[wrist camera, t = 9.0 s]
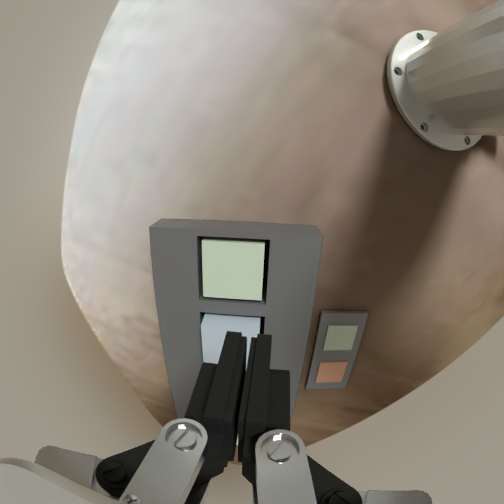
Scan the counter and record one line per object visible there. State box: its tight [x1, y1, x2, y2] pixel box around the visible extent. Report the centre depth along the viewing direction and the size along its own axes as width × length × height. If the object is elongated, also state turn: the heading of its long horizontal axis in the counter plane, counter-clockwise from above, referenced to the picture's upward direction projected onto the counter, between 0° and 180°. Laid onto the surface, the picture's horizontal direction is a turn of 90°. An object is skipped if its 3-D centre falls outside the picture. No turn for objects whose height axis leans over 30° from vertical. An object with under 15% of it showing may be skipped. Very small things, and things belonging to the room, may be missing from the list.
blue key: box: [201, 313, 260, 369], centre depth 25 cm, size 5×5×3 cm
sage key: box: [202, 236, 265, 301], centre depth 25 cm, size 5×5×3 cm
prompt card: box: [305, 310, 368, 389], centre depth 29 cm, size 5×11×1 cm, turn 178°
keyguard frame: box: [149, 219, 323, 422], centre depth 28 cm, size 14×28×3 cm, turn 178°
